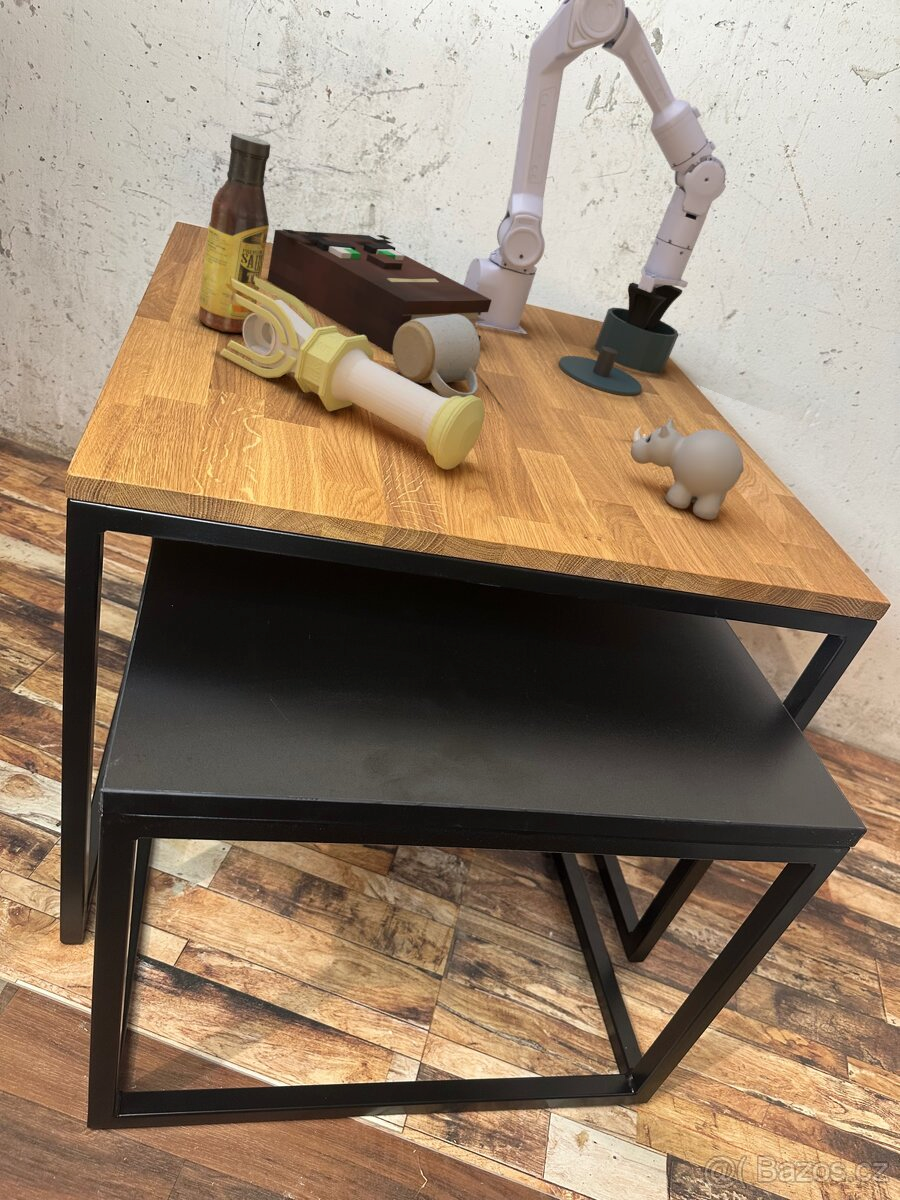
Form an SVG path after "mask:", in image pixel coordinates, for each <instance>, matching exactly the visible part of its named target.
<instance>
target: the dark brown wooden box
mask: <svg viewBox="0 0 900 1200" xmlns="http://www.w3.org/2000/svg"><path fill="white" fill-rule="evenodd" d="M376 237H378V238H379V239H377V238H375V237H374V236H371V235H367V234H354V233H337V232H322V231H321V232H319V231H304V230H294V229H285V228H282V229H275V230H274V235H273V241H272V247H271V254H270V261H269V266H268V273H267V279H266V280H267V281H268V282H270V284H271V283H272V285H274V286H275V287H277V288H279V289H281V290H283V291H285V292H287V293H289V294H291V295H293V296H294V297H296V298H297V299H298V300H299V301H301V302H302V303H305V304H307V305H308V306H310V307H312V308H313V309H314V310H316V311H318V312H320V313H322V314H324V315H325V316H327V317H328V318H331V319H332V320H333V321H335V322H337V323H339V324H340V325H342V326H344V327H345V328H347V329H348V330H350V331H352V332H354V333H356V334H357V335H358V336H359V335H365V336H366V337H367V339H368V342H370V343H372V344H374V345H376V346H377V347H379V348H381V349H382V350H384V351H385V352H388V353H389V354H390V355H392V356H393V341H394V337H395V335H396V332H397V331H398V329H399V328H400V327H401V326H402V325H403V324H404V323H406V322H408V321H411V320H414V319H417V318H426V317H435V316H444V315H451V314H459V315H462V316H464V317H466V318H467V319H468V320H469V321H470V322H471V323H472V324H473V326H474V328H475V329H476V325H477V324H476V321H486V320H484V319H482V318H480V317H478V314H479V313H482V312H488V311H489V307H490V304H491V301H492V300H491V299H489V298H487V297H485V296H483V295H481V294H479V293H477V292H475V291H473V290H471V289H469V288H467V287H465V286H464V284H462V283H460V282H458V281H456V280H454V279H453V278H450V277H448V276H446V275H444V274H442V273H440V272H438V271H436V270H434V269H432V268H430V267H429V266H427V265H425V264H422V263H421V262H419V261H417V260H415V259H413V258H411V257H409V256H407V255H405V254H403V253H401V252H399V251H398V250H396V249H397V248H396V247H395V246H393V245H392V244H393V242H391V241H390V240H391V238H390V237H388V236H386V235H383V234H379V235H378V234H376ZM478 337H479V342H480V341H481V338H482V336H481V335H479V334H478Z"/></svg>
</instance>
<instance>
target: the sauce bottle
mask: <svg viewBox="0 0 900 1200" xmlns="http://www.w3.org/2000/svg"><path fill="white" fill-rule="evenodd" d="M229 143H230V144H229V148H230V157H229V164H228V171H227V172H226V177H227V180H226V181H225V182H224V184H223V185H222V186H221V187H219V189H218V191H217V192H216V194H215V195H214V197H213V200H212V206H211V214H210V220H209V223H208V227H207V234H206V235H207V236H206V244H205V251H204V257H203V258H204V259H203V266H202V272H201V273H202V274H201V281H200V283H201V284H200V288H199V289H200V290H199V298H198V305H199V309H198V319H199V320H200V322H201V323H202V324H203V325H205V326H207V327H209V328H211V329H215V330H217V331H220V332H227V333H237V334H238V333H243V324H244V321H245V319H246V318H247V316H249V315H250V314H252V313H255V312H253V311H251V310H249V309H247V308H245V307H243V306H242V305H240V304H238V303H237V302H236V297H235V294H237V295H239V296H241V297H243V298H245V299H247V300H249V301H251V302H252V303H254V304H256V305H257V302H258V301H257V300H255V299H253V298H251V297H249V296H248V295H246V294H244V293H242V292H240V291H238V290H236V289H234V288H233V286H232V282H231V278H233V279H235V280H237V281H239V282H240V283H242V284H244V285H246V286H248V287H250V288H252V289H254V290H256V291H259V290H260V288H259V287H257V286H256V285H255V281H254V276H255V277H257V278H259V279H261V278H262V277H261V276H262V272H263V271H262V270H263V264H264V258H265V254H266V253H265V252H266V245H267V239H268V233H269V227H270V224H269V223H270V222H269V217H268V216H269V215H268V209H267V204H266V197H265V191H264V190H265V189H264V186H265V181H264V180H265V174H266V168H267V162H268V160H269V158H270V153H271V143H270V142H268V141H267V140H264V139H262V138H258V137H255V136H251V135H248V134H243V133H237V132H232V133H231V137H230V142H229Z"/></svg>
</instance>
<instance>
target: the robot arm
mask: <svg viewBox="0 0 900 1200" xmlns="http://www.w3.org/2000/svg"><path fill="white" fill-rule="evenodd" d="M601 45H602V46H601ZM599 46H601V49H602V50H604V51H606V52H608V54H609V53H610V54H611V55H612V56H615V57H617V58H618V59H620V60H621V61H622V62H623V64H624V66H625V67H626V69H627V71H628V72H629V74H630V76H631V77H632V79H633V80H634V83H635V84H636V86H637V88H638V89H639V91H640V93H641V94H642V96H643V98H644V100H645V101H646V103H647V105H648V107H649V109H650V110H651V112H652V120H651V123H650V129H649V130H650V132H651V133H652V135H653V138H654V139H655V141H656V143H657V145H658V147H659V148H660V151H661V152H662V154H663V156H664V158H665V160H666V162H667V164H668V165H669V167H670V169H671V171H674V183H675V184H674V185H676V186H675V189H674V191H673V194H672V196H671V198H670V201H669V203H668V205H667V207H666V210H665V212H664V214H663V217H662V220H661V222H660V225H659V228H658V231H657V234H656V236H655V238H654V241H653V243H652V246H651V248H650V251H649V254H648V256H647V259H646V261H645V264H644V265H643V266H642V268H641V278H640V281H639V283H635V282H630V283H629V284H628V287H627V294H628V316H627V323H629V324H631V325H634V326H636V327H638V328H641V329H645V327H646V325H647V326H648V330H647V331H650V332H652V331H653V330H654V329H655V327H656V326H657V324H658V323H659V321H662V320H661V319H662V318H663V316H664V315H665V313H666V312H667V310H668V309H669V308H670V307H671V306H672V304H673V303H674V302H675V301H676V300H677V299H678V298H679V297H681V295H682V294H683V288H687V286H688V284H689V282H688V281H687V280H684V279H682V277H683V275H684V273H685V270H686V268H687V265H688V264H689V260H690V258H691V257H692V253H693V251H694V248H695V246H696V243H697V241H698V239H699V236H700V235H701V232H702V228H703V226H704V224H705V222H706V219H707V216H708V213H709V211H710V208H711V206H712V203H713V202H714V201H715V200H716V199H718V198H719V197H720V196H721V195H722V194H723V193H724V191H725V189H726V188H727V184H726V180H727V178H726V175H727V172H726V167H725V165H724V163H723V162H722V161H721V159H719V158H717V157H715V156H714V155H713V151H714V150H716V144H715V143H714V141H712V140H709V139H708V137H707V136H706V133H705V131H704V130H703V128H702V126H701V124H700V122H699V118H700V117H701V115H702V114H701V112H700V110H699V108H698V107H697V106H691V104H690V102H689V101H687V100H683V99H677V98H675V96H674V94H673V91H672V89H671V88H670V85H669V82H668V81H667V77H665V74H664V72H663V70H662V67H661V66H660V64H659V61H658V59H657V57H656V55H655V53H654V51H653V49H652V46H651V44H650V42H649V40H648V38H647V35H646V33H645V31H644V29H643V27H642V25H641V24H640V22H639V20H638V19H637V17H636V14H635V13H634V12H633V10H632V9H631V8H630V7H629V6H626V3H625V0H563V1H562V2H561V4H560V5H559V7H558V8H557V10H556V11H555V12H554V14H553V16H552V17H551V18H550V19H549V21H548V22H547V23H546V25H545V26H544V27H543V29H542V30H541V31H540V32H539V34H538V36H536V37H535V39H534V41H533V42H532V44H531V47H530V50H529V57H528V65H527V72H526V78H525V84H524V85H525V86H524V93H523V101H522V108H521V115H520V121H519V122H520V123H519V130H518V138H517V144H516V153H515V159H514V166H513V174H512V181H511V190H510V193H509V197H508V200H507V205H506V210H505V211H506V212H505V215H504V216H503V218H502V220H500V223H499V225H498V226H497V227H498V228H497V232H496V237H497V238H496V239H497V244H498V246H499V247H497V248H496V249H495V250H493V251H491V252H490V254H489V257H487V258H481V257H475V258H473V260H471V262H470V264H469V266H468V269H467V271H466V276H465V279H464V283H463V285H464V286H465V287H467V288H469V289H471V290H473V291H475V292H477V293H479V294H481V295H483V296H485V297H487V298H489V299H491V300H492V301H491V304H490V307H489V311H488V312H482V313H479V314H478V317H480V318H482V319H484V320H486V321H476V324H475V325H477V326H483V327H488V328H493V329H498V330H503V331H508V332H514V333H519V334H524V335H528V332H527V331H526V330H525V329H524V328H523V327H522V326H521V325H520V324H521V320H522V317H523V314H524V311H525V309H526V308H525V307H526V305H527V301H528V299H529V295H530V293H531V289H532V286H533V282H534V279H535V276H536V273H537V269H538V268H537V267H536V265H537V264H538V263H539V262H540V260H541V259H542V257H543V255H544V252H545V247H546V243H545V238H544V235H543V234H544V233H543V231H542V223H543V218H544V217H543V215H544V198H545V191H546V185H547V178H548V171H549V164H550V158H551V157H550V156H551V151H552V147H553V146H552V145H553V139H554V133H555V128H556V127H555V126H556V119H557V114H558V107H559V101H560V93H561V87H562V81H563V76H564V75H563V74H564V70H565V68H566V67H568V66H569V65H571V63H573V62H574V61H575V60H577V58H579V57H580V56H581V55H583V54H584V52H586V51H588V50H591V49H594V48H596V47H599ZM679 287H681V288H682V289H681V288H679Z"/></svg>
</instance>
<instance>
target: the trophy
mask: <svg viewBox="0 0 900 1200" xmlns="http://www.w3.org/2000/svg"><path fill="white" fill-rule="evenodd" d="M254 281H255V285H256V286H257V287H259V289H261V290H263V291H265V292H267V293H269V294H271V295H273V296H274V297H276V298H279V299H274V298H272V297H270V296H268V295H266V294H265V293H262V292H261V291H259V290H258V291H256V290H254V289H252V288H250V287H248V286H246V285H244V284H242V283H240V282H239V281H237V280H235V279H233V278H231V282H232V286H233V288H234V289H236V290H238V291H240V292H242V293H244V294H246V295H248V296H249V297H251V298H253V299H255V300H257V302H259V303H260V305H258V304H257V303H256V304H254V303H252V302H251V301H249V300H247V299H245V298H243V297H241V296H239V295H237V294H235V297H236V302H237V303H238V304H240V305H242V306H243V307H245V308H247V309H249V310H251V311H253V312H255V313H252V314H250V315H249V316H247V318H246V319H245V321H244V324H243V332H242V338H243V341H244V344H245V345H242V344H240V343H238V342H236V341H235V340H232V339H230V340H229V342H228V344H227V347H228V348H229V349H231V350H234V351H236V352H238V353H240V354H241V355H243V356H246V358H249V359H251V361H249V360H247V359H246V358H244V357H241V356H239V355H237V354H235V353H233V352H232V351H230V350H229V349H227V348H222V350H221V351H220V352H219V355H220V356H222V357H223V358H225V359H228V360H229V361H231V362H232V363H234V364H237V365H238V366H240V367H242V368H244V369H246V370H248V371H249V372H251V373H253V374H254V375H257V376H259V377H262V378H266V379H271V378H272V379H273V378H281V377H282V376H283V375H285V374H294V376H293V377H294V379H295V381H296V382H297V385H298V386H299V387H300V389H301V391H302V392H304V393H305V394H307V393H310V392H313V393H315V394H316V395H318V397H319V399H320V400H321V402H322V404H323V406H324V408H325V409H326V411H328V412H334V411H336V410H339V409H343V408H347V407H350V406H352V405H353V404H355V405H357V406H359V407H360V408H362V409H364V410H366V411H367V412H370V413H372V414H373V415H375V416H377V417H379V418H380V419H383V420H385V421H387V422H388V423H390V424H392V425H394V426H396V427H397V428H399V429H401V430H403V431H405V432H407V433H409V434H411V436H414V437H416V438H418V439H419V440H421V441H422V442H423V443H424V444H425V448H426V451H427V452H428V454H430V455H431V456H433V459H434V462H435V464H436V465H437V466H438V467H440V468H441V469H443V470H451V469H454V468H456V467H457V466H459V465H460V464H461V463H462V462H463V461H464V460H465V459H466V457H467V456H468V455H469V454H470V452H471V451H472V450H473V448H474V447H475V445H476V444H477V442H478V439H479V438H480V435H481V431H482V428H483V424H484V420H485V412H486V411H485V410H486V409H485V408H486V407H485V404H484V402H483V400H482V399H481V398H480V397H478V396H475V395H469V396H466V397H461V396H453V397H451V398H445V397H443V396H442V395H439V394H437V393H436V392H433V391H432V390H430V389H427V387H426V388H425V387H423V386H422V385H420V384H419V383H415V382H412V381H410V380H408V379H406V378H404V377H403V376H402V375H401V374H398V373H397V372H395V371H392V370H391V369H389V368H387V367H384V366H383V365H381V364H379V363H377V362H376V361H373V359H374V356H375V355H374V351H373V349H372V347H371V344H370V341H369V340H368V339H367V337H366V336H365V335H359V334H358V335H354V336H349V337H347V336H346V335H343V334H342V333H340V330H339V327H337V326H336V325H329V326H322V327H317V325H316V322H315V320H314V317H313V315H312V313H310V311H309V310H308V308H307V307H306V306H305V304H304V302H303V301H302V300H300V299H298V298H297V297H295V296H293V295H292V294H290V293H288V292H286V291H285V290H283V289H281V288H280V287H278V286H276V285H274V284H271V283H269V282H267V281H265V280H263V279H261V278H260V279H259V278H257V277H255V276H254ZM288 304H289V305H292V307H294V308H295V309H296V310H297V311H298V312H299V313H300V314H301V316H302V317H303V318H302V317H301V316H300V315H299V314H298V313H297V312H296V311H295V310H293V309H292V308H291V306H289V305H288Z"/></svg>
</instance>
